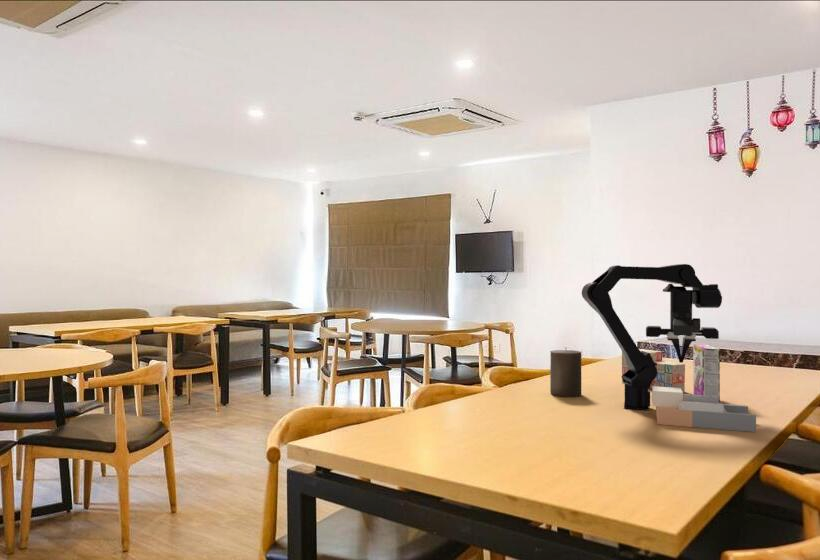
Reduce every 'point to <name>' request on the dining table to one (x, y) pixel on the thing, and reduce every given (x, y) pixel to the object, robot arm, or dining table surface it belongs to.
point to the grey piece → (709, 418)
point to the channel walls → (701, 403)
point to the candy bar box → (706, 370)
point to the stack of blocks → (663, 371)
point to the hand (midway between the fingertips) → (681, 362)
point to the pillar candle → (565, 373)
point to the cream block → (666, 396)
